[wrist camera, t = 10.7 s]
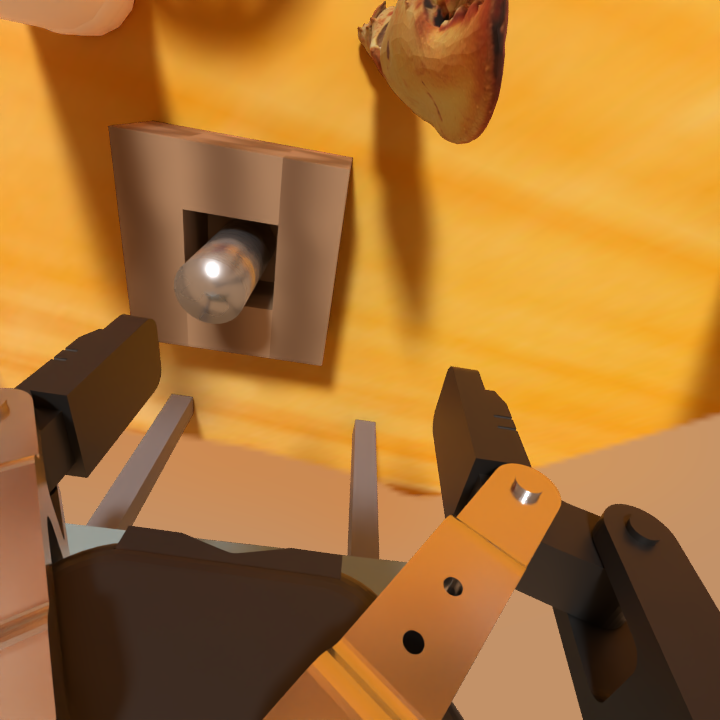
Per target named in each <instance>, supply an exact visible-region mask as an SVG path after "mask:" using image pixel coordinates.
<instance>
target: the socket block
mask: <svg viewBox="0 0 720 720" xmlns="http://www.w3.org/2000/svg"><path fill="white" fill-rule="evenodd" d="M108 127H109V136H110V144H111V153H112V161H113V170H114V178H115V187H116V195H117V204H118V212H119V221H120V229H121V238H122V246H123V255H124V263H125V272H126V280H127V289H128V297H129V305H130V314H131V315H132V316H138V317H144V318H151V319H153V320H154V321H155V322H156V325H157V332H158V341H159V342H163V343H169V344H176V345H183V346H190V347H197V348H203V349H210V350H217V351H224V352H231V353H237V354H244V355H251V356H258V357H265V358H272V359H278V360H285V361H292V362H299V363H306V364H312V365H319V366H322V362H323V356H324V350H325V344H326V338H327V332H328V325H329V318H330V311H331V304H332V297H333V290H334V284H335V277H336V270H337V263H338V256H339V249H340V242H341V235H342V228H343V221H344V214H345V207H346V200H347V193H348V186H349V179H350V172H351V165H352V159H353V158H352V157H346V156H341V155H335V154H330V153H325V152H319V151H314V150H308V149H303V148H297V147H292V146H287V145H281V144H276V143H270V142H265V141H259V140H254V139H248V138H243V137H238V136H232V135H227V134H221V133H216V132H210V131H205V130H200V129H194V128H189V127H183V126H178V125H172V124H167V123H161V122H156V121H146V122H138V123H129V124H120V125H111V126H108ZM233 218H237V219H243V220H249V221H255V222H261V223H266V224H267V225H268V226H269V227H270V229H271V230H272V232H273V234H274V237H275V243H276V247H275V252H274V254H273V256H272V258H271V260H270V262H269V263H268V265H267V267H266V269H265V270H264V272H263V274H262V276H261V277H260V279H259V281H258V283H257V284H256V286H255V288H254V290H253V291H252V293H251V295H250V297H249V298H248V300H247V302H246V304H245V305H244V307H243V309H242V311H241V312H240V313H239V315H238V316H237V317H235V318H234V319H232V320H231V321H228V322H226V323H221V324H211V323H206V322H203V321H200V320H198V319H196V318H194V317H192V316H191V315H190V314H188V313H187V312H186V311H185V310H184V309H183V307H182V306H181V305H180V303H179V301H178V300H177V297H176V295H175V291H174V280H175V276H176V273H177V272H178V270H179V269H180V267H181V266H182V265H184V264H185V263H186V262H187V261H188V260H189V259H190V258H191V257H192V256H193V255H194V254H195V253H196V252H197V251H198V250H200V249H201V248H202V247H203V246H204V245H205V244H206V243H207V242H208V241H209V240H210V239H211V238H212V237H213V236H215V235H216V234H217V233H218V232H219V231H220V230H221V229H222V228H223V227H224V226H225V225H226V224H227V223H228V222H229V221H231V220H232V219H233Z"/></svg>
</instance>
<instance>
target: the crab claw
mask: <svg viewBox="0 0 720 720" xmlns="http://www.w3.org/2000/svg"><path fill="white" fill-rule="evenodd" d="M507 24H508V0H398V2H397V4H396V6H395V7H394V6H392V7H389V8H386V1H384V2H383V3H382V4H381V5H380V6H379V7H377V9H376V10H375V11H374V14H373V16H372V17H371V18H370V22H369V23H368V24H364V25H363V27H362V28H361V27H358V28H357V29H358V37H359V40H360V41H361V43H362V45H363V46H364V48H365V49H366V51H367V52H368V54H369V56H370V57H371V58H372V59H373V61H374V63H375V64H376V66H377V68H378V70H379V72H380V73H381V74H382V76H383V77H384V78H385V79H386V81H387V83H388V84H389V86H390V87H391V89H392V90H393V91H394V92H395V94H396V95H397V96H398V97H399V98H400V99H401V100H402V101H403V102H404V103H405V104H406V105H407V106H408V107H409V108H410V109H411V110H412V111H413V112H414V113H415V114H417V115H418V116H419V117H420V118H422V119H423V120H424V121H426V122H428V123H430V124H431V125H432V126H433V127H434V128H435V129H436V130H437V132H438V133H439V134H440V136H441V137H442V138H444V139H446V140H447V141H449V142H452V143H456V144H463V143H468V142H471V141H472V140H475V139H476V138H478V137H479V136H480V135H481V134H482V133H483V131H484V130H485V128H486V127H487V125H488V123H489V121H490V119H491V117H492V114H493V111H494V109H495V106H496V103H497V101H498V97H499V92H500V88H501V81H502V75H503V66H504V57H505V39H506V34H507Z"/></svg>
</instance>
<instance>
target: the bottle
mask: <svg viewBox="0 0 720 720" xmlns="http://www.w3.org/2000/svg"><path fill="white" fill-rule="evenodd" d="M133 4H134V0H0V19H4V20H9V21H14V22H18V23H23V24H28V25H32V26H37V27H42V28H45V29H47V30H50V31H52V32H56V33H60V34H67V35H79V36H102V35H104V34H106V33H108V32H110V31H112V30H114V29H116V28H118V27H120V25H121V24H122V23H123V21H124V20H125V19H126V17H127V16H128V14H129V13H130V12H131V10H132V8H133Z"/></svg>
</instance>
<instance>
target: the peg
mask: <svg viewBox="0 0 720 720" xmlns="http://www.w3.org/2000/svg"><path fill="white" fill-rule="evenodd" d="M275 247H276V243H275V237H274V234H273V232H272V230H271V229H270V227H269V226H268V225H267V224H266V223H261V222H255V221H249V220H243V219H237V218H233V219H232V220H231V221H229V222H228V223H227V224H226V225H225V226H224V227H223V228H222V229H221V230H220V231H219V232H218V233H217V234H216V235H215V236H213V237H212V238H211V239H210V240H209V241H208V242H207V243H206V244H205V245H204V246H203V247H202V248H201V249H200V250H198V251H197V252H196V253H195V254H194V255H193V256H192V257H191V258H190V259H189V260H188V261H187V262H186V263H185V264H184V265H182V266H181V267H180V269H179V270H178V272H177V273H176V276H175V280H174V291H175V295H176V297H177V300H178V301H179V303H180V305H181V306H182V307H183V309H184V310H185V311H186V312H187V313H188V314H190V315H191V316H192V317H194V318H196V319H198V320H200V321H203V322H206V323H211V324H221V323H226V322H228V321H231V320H232V319H234V318H235V317H237V316H238V315H239V313H240V312H241V311H242V309H243V307H244V305H245V304H246V302H247V300H248V298H249V297H250V295H251V293H252V291H253V290H254V288H255V286H256V284H257V283H258V281H259V279H260V277H261V276H262V274H263V272H264V270H265V269H266V267H267V265H268V263H269V262H270V260H271V258H272V256H273V254H274V252H275Z"/></svg>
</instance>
